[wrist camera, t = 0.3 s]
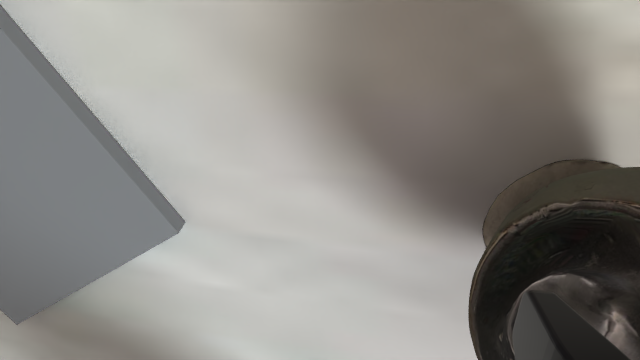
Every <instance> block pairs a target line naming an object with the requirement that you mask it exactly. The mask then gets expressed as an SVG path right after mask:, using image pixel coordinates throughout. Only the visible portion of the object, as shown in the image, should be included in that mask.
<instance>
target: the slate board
mask: <svg viewBox="0 0 640 360" xmlns="http://www.w3.org/2000/svg"><path fill="white" fill-rule="evenodd" d="M184 223H185V221H184V220H183V219H182V218H181V216H180V215H179V214H178V213H177V212H176V211H175V209H174V208H173V207H172V206H171V205H170V204H169V202H168V201H167V200H166V199H165V198H164V197H163V195H162V194H161V193H160V192H159V191H158V190H157V188H156V187H155V186H154V185H153V184H152V182H151V181H150V180H149V179H148V178H147V177H146V175H145V174H144V173H143V172H142V171H141V170H140V168H139V167H138V166H137V165H136V164H135V163H134V161H133V160H132V159H131V158H130V157H129V156H128V154H127V153H126V152H125V151H124V150H123V149H122V147H121V146H120V145H119V144H118V143H117V141H116V140H115V139H114V138H113V137H112V136H111V134H110V133H109V132H108V131H107V130H106V129H105V127H104V126H103V125H102V124H101V123H100V122H99V120H98V119H97V118H96V117H95V116H94V115H93V113H92V112H91V111H90V110H89V109H88V107H87V106H86V105H85V104H84V103H83V102H82V100H81V99H80V98H79V97H78V96H77V95H76V93H75V92H74V91H73V90H72V89H71V88H70V86H69V85H68V84H67V83H66V82H65V81H64V79H63V78H62V77H61V76H60V75H59V74H58V72H57V71H56V70H55V69H54V68H53V66H52V65H51V64H50V63H49V62H48V61H47V59H46V58H45V57H44V56H43V55H42V54H41V52H40V51H39V50H38V49H37V48H36V47H35V45H34V44H33V43H32V42H31V41H30V40H29V38H28V37H27V36H26V35H25V34H24V32H23V31H22V30H21V29H20V28H19V27H18V25H17V24H16V23H15V22H14V21H13V20H12V18H11V17H10V16H9V15H8V14H7V13H6V11H5V10H4V9H3V8H2V7H1V6H0V310H1V311H2V312H4V313H5V314H6V315H7V316H8V317H9V318H10V319H11V320H12V321H13V322H14V323H15V324H19V323H21V322H23V321H24V320H26V319H28V318H30V317H31V316H33V315H35V314H37V313H39V312H40V311H42V310H44V309H46V308H47V307H49V306H51V305H53V304H54V303H56V302H58V301H60V300H61V299H63V298H65V297H67V296H68V295H70V294H72V293H74V292H76V291H77V290H79V289H81V288H83V287H84V286H86V285H88V284H90V283H91V282H93V281H95V280H97V279H98V278H100V277H102V276H104V275H106V274H107V273H109V272H111V271H113V270H114V269H116V268H118V267H120V266H121V265H123V264H125V263H127V262H128V261H130V260H132V259H134V258H135V257H137V256H139V255H141V254H143V253H144V252H146V251H148V250H150V249H151V248H153V247H155V246H157V245H158V244H160V243H162V242H164V241H165V240H167V239H169V238H171V237H172V236H174V235H176V234H178V233H179V231H180V230H181V228H182V227H183V225H184Z"/></svg>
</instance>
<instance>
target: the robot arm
mask: <svg viewBox="0 0 640 360" xmlns="http://www.w3.org/2000/svg"><path fill="white" fill-rule="evenodd" d="M513 348H514V355H515V360H631V359H630V358H629V357H628V356H626V355H625V354H624V353H623V352H622V351H621V350H620V349H618V348H617V347H616V346H615V345H614V344H613V343H611V342H610V341H609V340H608V339H607V338H606V337H605V336H603V335H602V334H601V333H600V332H599V331H598V330H597V329H595V328H594V327H593V326H592V325H591V324H590V323H588V322H587V321H586V320H585V319H584V318H583V317H582V316H580V315H579V314H578V313H577V312H576V311H575V310H573V309H572V308H571V307H570V306H569V305H568V304H567V303H565V302H564V301H563V300H562V299H561V298H560V297H559V296H557V295H556V294H555V293H553V292H550V291H541V290H527V291H525V292H524V294H523V296H522V299H521V302H520V306H519V309H518V313H517V317H516V320H515V324H514V328H513Z"/></svg>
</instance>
